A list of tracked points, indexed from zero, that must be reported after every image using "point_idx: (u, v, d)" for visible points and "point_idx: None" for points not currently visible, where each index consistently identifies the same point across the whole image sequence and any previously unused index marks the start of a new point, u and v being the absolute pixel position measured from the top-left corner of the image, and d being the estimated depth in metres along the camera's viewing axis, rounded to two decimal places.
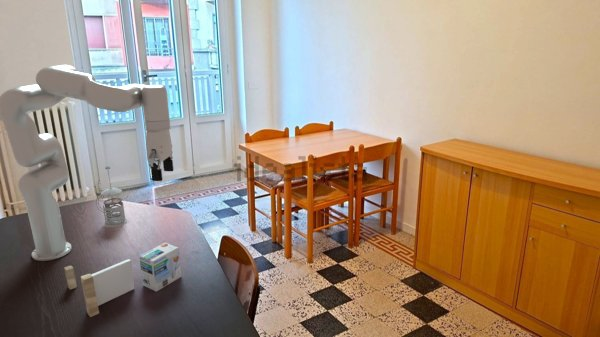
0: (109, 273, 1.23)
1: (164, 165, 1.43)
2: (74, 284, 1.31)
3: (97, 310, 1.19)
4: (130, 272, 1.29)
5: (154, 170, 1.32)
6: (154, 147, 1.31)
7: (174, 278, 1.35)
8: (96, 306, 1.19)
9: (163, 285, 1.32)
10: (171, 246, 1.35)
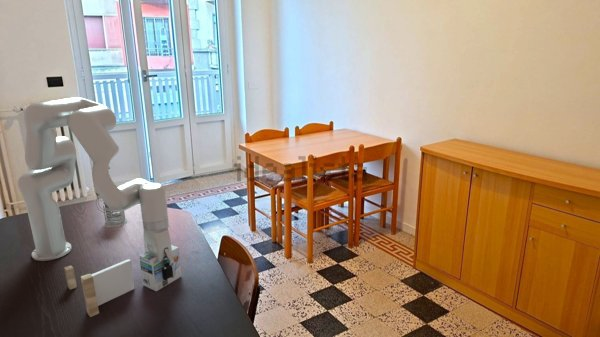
0: (109, 273, 1.23)
1: None
2: (74, 284, 1.31)
3: (97, 310, 1.19)
4: (130, 272, 1.29)
5: (168, 268, 1.30)
6: (166, 245, 1.28)
7: (174, 278, 1.35)
8: (96, 306, 1.19)
9: (163, 285, 1.32)
10: (171, 246, 1.35)
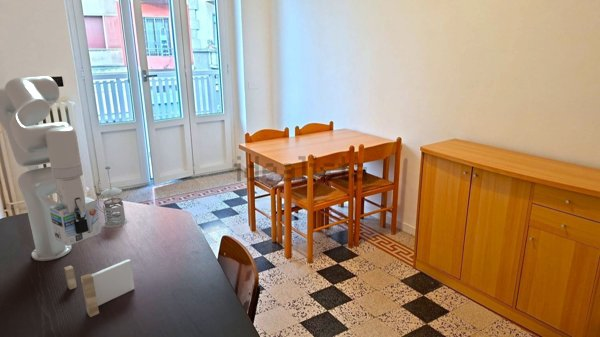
0: (109, 273, 1.23)
1: None
2: (74, 284, 1.31)
3: (97, 310, 1.19)
4: (130, 272, 1.29)
5: (81, 221, 1.19)
6: (78, 195, 1.17)
7: (91, 233, 1.24)
8: (96, 306, 1.19)
9: (77, 240, 1.21)
10: (88, 199, 1.25)
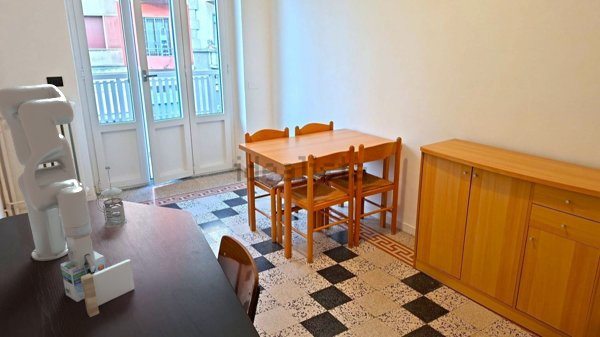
0: (109, 273, 1.23)
1: None
2: None
3: (97, 310, 1.19)
4: (130, 272, 1.29)
5: None
6: (87, 252, 1.22)
7: None
8: (96, 306, 1.19)
9: None
10: (97, 254, 1.30)
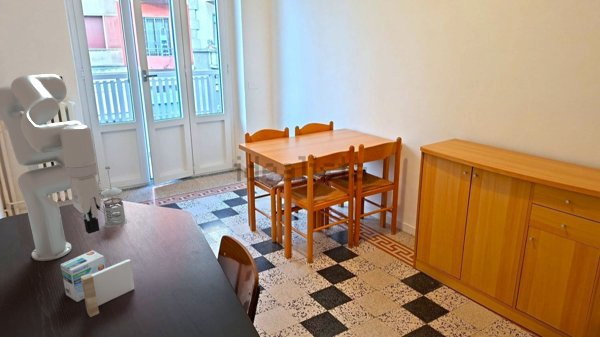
0: (109, 273, 1.23)
1: None
2: None
3: (97, 310, 1.19)
4: (130, 272, 1.29)
5: (92, 221, 1.18)
6: (93, 195, 1.14)
7: None
8: (96, 306, 1.19)
9: None
10: (97, 254, 1.30)
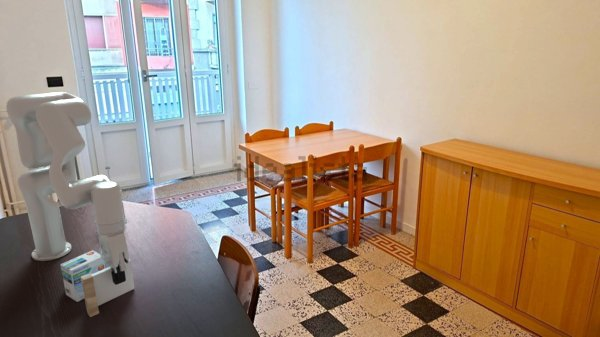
0: (109, 273, 1.23)
1: None
2: None
3: (97, 310, 1.19)
4: (130, 272, 1.29)
5: (119, 273, 1.21)
6: (122, 250, 1.17)
7: None
8: (96, 306, 1.19)
9: None
10: (97, 254, 1.30)
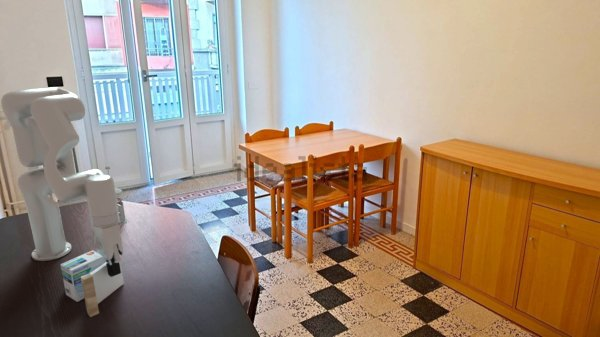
0: (104, 270, 1.25)
1: None
2: None
3: (97, 310, 1.19)
4: (120, 267, 1.31)
5: (114, 265, 1.23)
6: (116, 242, 1.19)
7: None
8: (96, 306, 1.19)
9: None
10: (97, 254, 1.30)
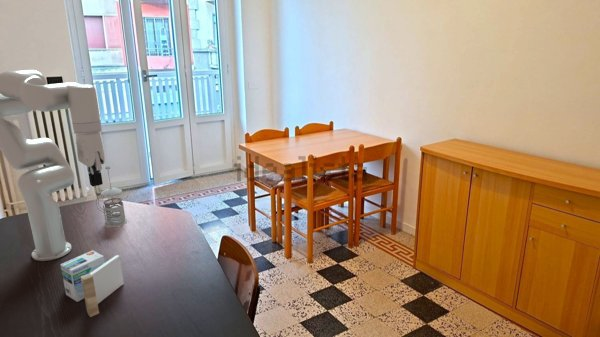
0: (104, 270, 1.25)
1: None
2: None
3: (97, 310, 1.19)
4: (120, 267, 1.31)
5: (96, 174, 1.28)
6: (97, 149, 1.24)
7: None
8: (96, 306, 1.19)
9: None
10: (97, 254, 1.30)
